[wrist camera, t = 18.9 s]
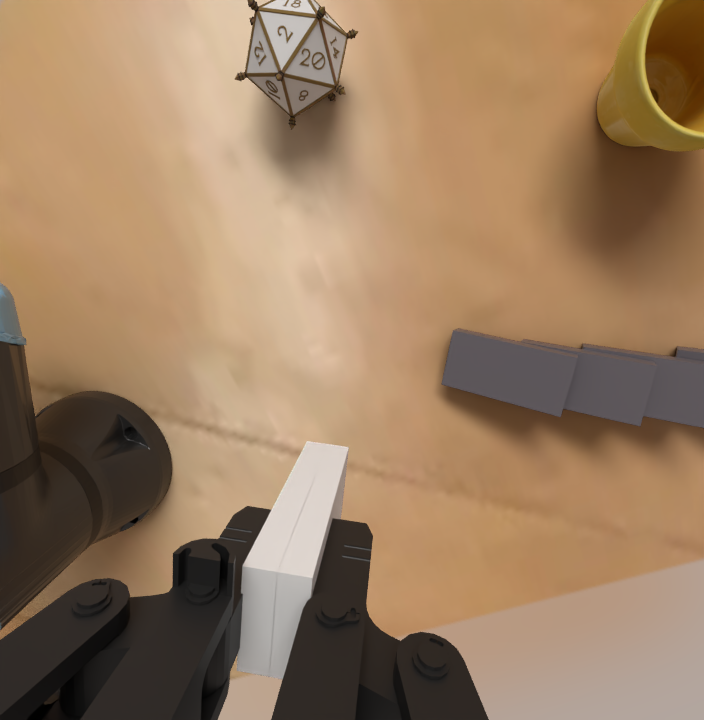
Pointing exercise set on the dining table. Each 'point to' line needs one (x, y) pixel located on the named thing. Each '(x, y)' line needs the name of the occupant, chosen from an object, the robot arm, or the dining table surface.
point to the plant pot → (658, 79)
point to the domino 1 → (509, 371)
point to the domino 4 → (690, 353)
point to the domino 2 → (607, 384)
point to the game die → (295, 54)
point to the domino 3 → (670, 386)
